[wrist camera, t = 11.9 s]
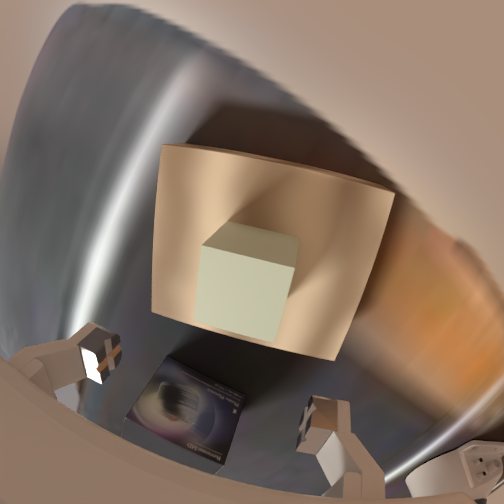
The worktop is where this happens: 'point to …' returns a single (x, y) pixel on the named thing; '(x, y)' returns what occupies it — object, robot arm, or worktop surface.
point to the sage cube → (245, 280)
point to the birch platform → (273, 219)
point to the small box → (185, 417)
